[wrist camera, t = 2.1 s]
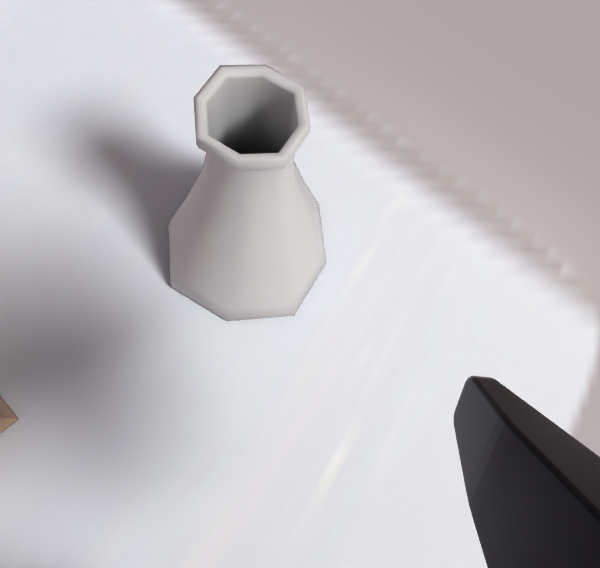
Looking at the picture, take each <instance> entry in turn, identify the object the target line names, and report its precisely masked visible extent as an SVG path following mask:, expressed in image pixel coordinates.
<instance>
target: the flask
mask: <svg viewBox="0 0 600 568" xmlns="http://www.w3.org/2000/svg"><path fill="white" fill-rule="evenodd" d="M194 111H195V128H196V144H197V146H198V147H199V148H200V149H202V150H203V151H205V152H206V156H205V161H204V165H203V170H202V171H201V173H200V175H199V177H198V178H197V180H196V182H195V183H194V185H193V187H192V189H191V190H190V192H189V194H188V196H187V197H186V199H185V200H184V202H183V203H182V205H181V206H180V207H179V209H178V210H177V212H176V213H175V215H174V216H173V217H172V219H171V221H170V223H169V224H168V233H169V258H170V282H171V287H173V288H174V289H176V290H177V291H179V292H181V293H182V294H184V295H186V296H187V297H189V298H190V299H192V300H194V301H195V302H197V303H199V304H200V305H202V306H204V307H205V308H207V309H208V310H210V311H212V312H213V313H215V314H217V315H218V316H220V317H222V318H223V319H225V320H226V321H233V320H246V319H258V318H270V317H282V316H294V315H295V313H296V311H297V310H298V308H299V306H300V305H301V303H302V302H303V300H304V298H305V297H306V295H307V293H308V292H309V290H310V289H311V287H312V285H313V284H314V282H315V280H316V279H317V277H318V276H319V274H320V272H321V271H322V269H323V268H324V266H325V264H326V257H325V249H324V241H323V234H322V226H321V218H320V211H319V204H318V203H317V201H316V199H315V197H314V196H313V194H312V193H311V191H310V190H309V188H308V187H307V185H306V184H305V182H304V180H303V178H302V176H301V174H300V172H299V170H298V168H297V166H296V164H295V162H294V154H295V152H296V151H297V149H298V148H299V146H300V145H301V144H302V142H303V141H304V139H305V138H306V136H307V135H308V133H309V132H310V121H309V114H308V106H307V99H306V91H305V87H304V86H302V85H300V84H299V83H297V82H295V81H293V80H292V79H290V78H288V77H287V76H285V75H283V74H281V73H280V72H278V71H276V70H274V69H273V68H271V67H269V66H267V65H220V66H219V67H218V68H217V70H216V71H215V72H214V73H213V75H212V76H211V77H210V78H209V79H208V81H207V82H206V83H205V84H204V86H203V87H202V88H201V89H200V90H199V92H198V93H197V94H196V95H195V97H194Z"/></svg>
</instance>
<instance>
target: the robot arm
mask: <svg viewBox="0 0 600 568" xmlns="http://www.w3.org/2000/svg"><path fill="white" fill-rule="evenodd" d="M454 428H455V433H456V439H457V444H458V449H459V455H460V460H461V465H462V471H463V476H464V482H465V487H466V492H467V497H468V502H469V506H470V510H471V513H472V517H473V520H474V524H475V527H476V530H477V534H478V537H479V540H480V543H481V547H482V550H483V553H484V557H485V560H486V563H487V567H488V568H600V457H599V456H598V455H596V454H595V453H594V452H592V451H591V450H590V449H588V448H587V447H585V446H584V445H583V444H582V443H580V442H579V441H578V440H576V439H575V438H574V437H572V436H571V435H569V434H568V433H567V432H565V431H564V430H563V429H561V428H560V427H559V426H557V425H556V424H555V423H553V422H552V421H551V420H549V419H548V418H546V417H545V416H544V415H542V414H541V413H540V412H538V411H537V410H536V409H534V408H533V407H532V406H530V405H529V404H528V403H526V402H525V401H524V400H522V399H521V398H520V397H518V396H517V395H515V394H514V393H513V392H511V391H510V390H509V389H507V388H506V387H505V386H503V385H502V384H501V383H499V382H498V381H497V380H495V379H493V378H489V377H479V376H471V377H469V378H468V379H467V380H466V382H465V385H464V387H463V390H462V393H461V396H460V398H459V401H458V404H457V407H456V409H455V413H454Z"/></svg>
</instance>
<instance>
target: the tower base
mask: <svg viewBox="0 0 600 568" xmlns="http://www.w3.org/2000/svg"><path fill="white" fill-rule="evenodd" d="M17 420H18V418H17V416H16V415H15V414H14V413H13V411H12V410H11V409H10V408H9V406H8V405H7V404H6V403H5V401H4V400H3V399H2V398H1V396H0V433H2V432H3V431H4V430H5V429H7V428H8V427H9V426H10V425H12V424H13V423H14V422H15V421H17Z"/></svg>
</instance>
